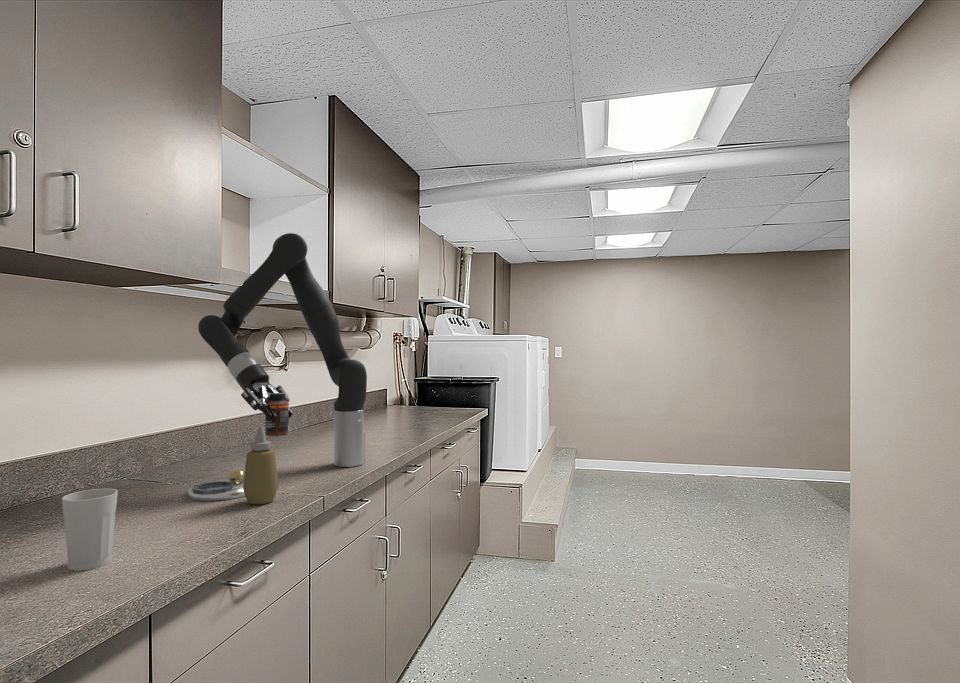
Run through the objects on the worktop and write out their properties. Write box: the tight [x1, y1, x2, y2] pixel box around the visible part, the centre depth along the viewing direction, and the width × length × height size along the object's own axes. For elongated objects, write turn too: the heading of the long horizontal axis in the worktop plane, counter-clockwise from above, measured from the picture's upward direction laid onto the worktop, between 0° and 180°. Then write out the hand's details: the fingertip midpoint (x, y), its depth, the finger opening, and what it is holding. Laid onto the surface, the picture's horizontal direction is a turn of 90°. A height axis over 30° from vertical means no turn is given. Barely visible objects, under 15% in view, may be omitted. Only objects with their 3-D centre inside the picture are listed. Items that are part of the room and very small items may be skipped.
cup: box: [61, 488, 119, 572], centre depth 97 cm, size 8×8×12 cm
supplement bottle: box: [264, 392, 290, 437], centre depth 150 cm, size 6×6×11 cm
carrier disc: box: [187, 469, 246, 502], centre depth 143 cm, size 16×16×4 cm
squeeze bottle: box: [243, 426, 279, 505], centre depth 135 cm, size 8×8×18 cm
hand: (282, 417), depth 150 cm, fingers closed on supplement bottle, 6 cm apart
